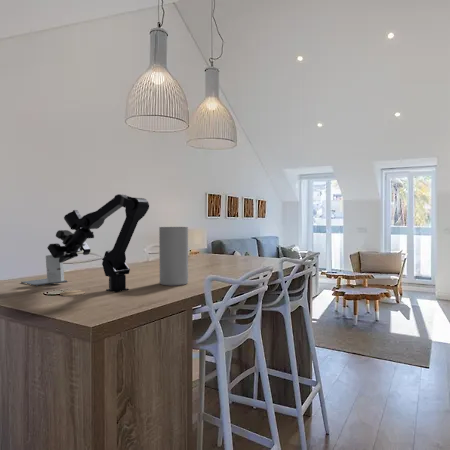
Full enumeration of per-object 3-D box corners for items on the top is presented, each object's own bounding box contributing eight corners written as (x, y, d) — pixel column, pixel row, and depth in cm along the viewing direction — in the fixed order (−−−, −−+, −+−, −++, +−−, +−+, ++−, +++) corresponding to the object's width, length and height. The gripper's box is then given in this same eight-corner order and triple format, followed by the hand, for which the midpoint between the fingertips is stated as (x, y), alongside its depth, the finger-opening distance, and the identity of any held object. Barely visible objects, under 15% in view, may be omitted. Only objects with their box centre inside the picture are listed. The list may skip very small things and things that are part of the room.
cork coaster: (89, 293, 143) (89, 292, 143) (68, 297, 136) (68, 296, 136) (76, 290, 148) (76, 289, 148) (54, 294, 141) (54, 293, 141)
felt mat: (67, 281, 170) (67, 280, 170) (36, 286, 158) (36, 284, 158) (50, 279, 178) (50, 277, 178) (20, 283, 167) (20, 281, 167)
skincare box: (47, 283, 160) (44, 255, 161) (50, 282, 165) (48, 255, 165) (62, 281, 161) (59, 253, 162) (65, 280, 166) (62, 253, 166)
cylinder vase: (190, 281, 170) (190, 226, 169) (185, 286, 157) (184, 227, 157) (163, 281, 171) (163, 226, 171) (156, 285, 158) (155, 227, 158)
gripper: (86, 223, 167) (68, 246, 173) (50, 224, 151) (32, 249, 156) (99, 242, 164) (80, 265, 169) (64, 244, 147) (44, 270, 152)
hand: (60, 262), depth 162 cm, fingers closed
